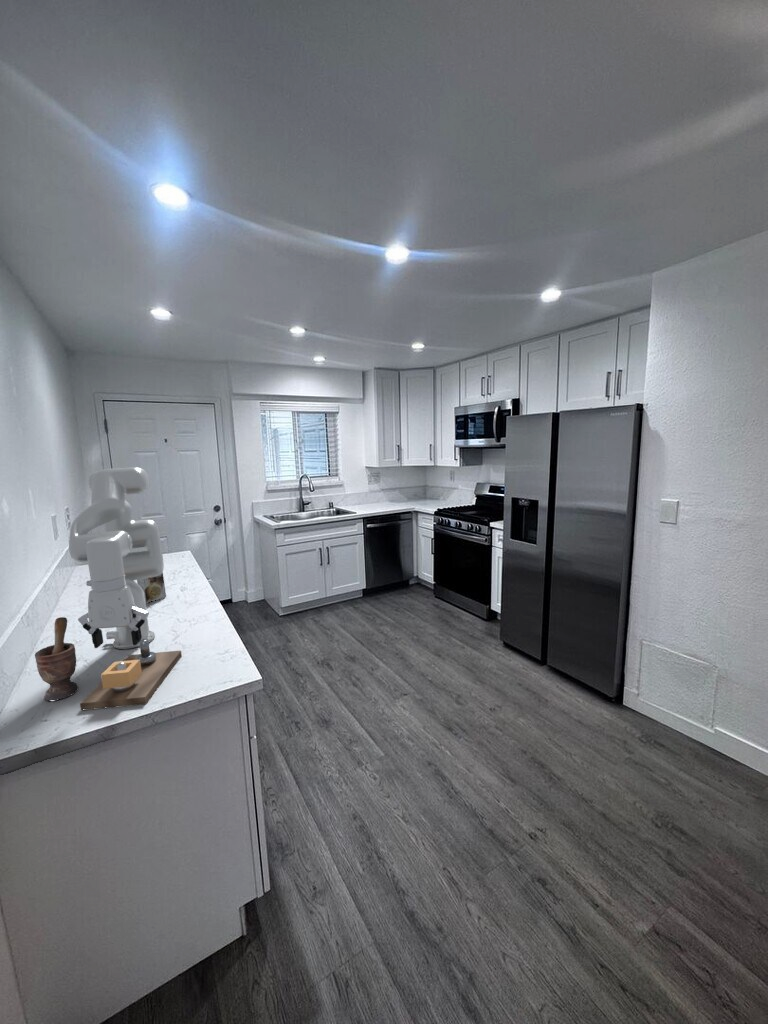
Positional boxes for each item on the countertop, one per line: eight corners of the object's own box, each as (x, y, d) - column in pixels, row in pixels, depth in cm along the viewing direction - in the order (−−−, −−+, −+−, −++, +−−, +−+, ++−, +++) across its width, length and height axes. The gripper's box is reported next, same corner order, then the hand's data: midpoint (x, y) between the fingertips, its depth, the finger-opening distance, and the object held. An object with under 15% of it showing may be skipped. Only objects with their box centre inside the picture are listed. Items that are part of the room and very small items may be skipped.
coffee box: (159, 595, 197) (155, 561, 195) (166, 597, 194) (162, 563, 191) (139, 601, 190) (134, 566, 188) (146, 604, 186) (141, 568, 184)
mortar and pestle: (43, 688, 121) (31, 622, 118) (79, 677, 126) (69, 613, 123) (42, 706, 112) (29, 635, 109) (82, 693, 117) (71, 625, 114)
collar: (103, 688, 112) (100, 674, 111) (116, 675, 118) (114, 661, 118) (130, 686, 112) (128, 672, 112) (141, 672, 119) (140, 659, 118)
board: (81, 710, 109) (79, 703, 109) (129, 661, 135) (128, 655, 134) (146, 704, 111) (145, 696, 110) (181, 656, 136) (180, 650, 136)
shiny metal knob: (133, 667, 126) (130, 645, 125) (141, 658, 132) (138, 637, 131) (151, 665, 127) (148, 643, 126) (159, 657, 132) (156, 636, 131)
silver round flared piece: (109, 693, 113) (105, 668, 112) (118, 683, 118) (115, 659, 117) (129, 691, 113) (126, 666, 112) (138, 681, 118) (135, 657, 117)
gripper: (64, 591, 107) (75, 653, 110) (137, 586, 108) (145, 648, 111) (82, 581, 114) (91, 640, 117) (149, 577, 116) (157, 635, 119)
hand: (118, 644), depth 114 cm, fingers open, 9 cm apart
